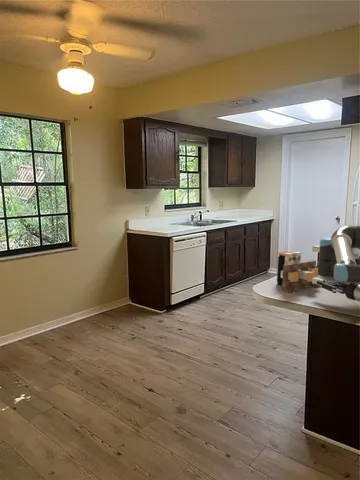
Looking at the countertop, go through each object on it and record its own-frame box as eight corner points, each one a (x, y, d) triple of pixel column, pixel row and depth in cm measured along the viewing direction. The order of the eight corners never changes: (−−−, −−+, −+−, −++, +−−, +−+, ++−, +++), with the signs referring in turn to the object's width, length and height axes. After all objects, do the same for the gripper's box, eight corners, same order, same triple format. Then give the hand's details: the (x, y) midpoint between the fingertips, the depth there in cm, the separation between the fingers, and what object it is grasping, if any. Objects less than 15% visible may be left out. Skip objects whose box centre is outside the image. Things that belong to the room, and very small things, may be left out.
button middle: (302, 277, 194) (302, 268, 194) (314, 280, 188) (315, 271, 187) (296, 278, 192) (296, 269, 191) (308, 281, 185) (309, 272, 184)
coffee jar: (293, 287, 194) (295, 255, 191) (274, 284, 199) (276, 253, 197) (298, 283, 203) (300, 252, 200) (280, 280, 208) (281, 250, 206)
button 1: (285, 277, 194) (286, 268, 193) (298, 280, 187) (298, 271, 186) (279, 278, 191) (280, 269, 191) (291, 282, 185) (292, 273, 184)
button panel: (311, 284, 201) (313, 249, 198) (320, 286, 196) (323, 251, 193) (281, 290, 189) (283, 253, 186) (290, 293, 184) (293, 255, 181)
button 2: (305, 273, 202) (305, 265, 202) (317, 277, 195) (318, 268, 195) (299, 274, 200) (300, 266, 199) (311, 278, 193) (312, 269, 192)
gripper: (348, 303, 154) (304, 289, 174) (365, 298, 161) (321, 285, 180) (349, 286, 153) (304, 274, 172) (367, 282, 159) (322, 271, 179)
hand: (313, 280), depth 176 cm, fingers closed
